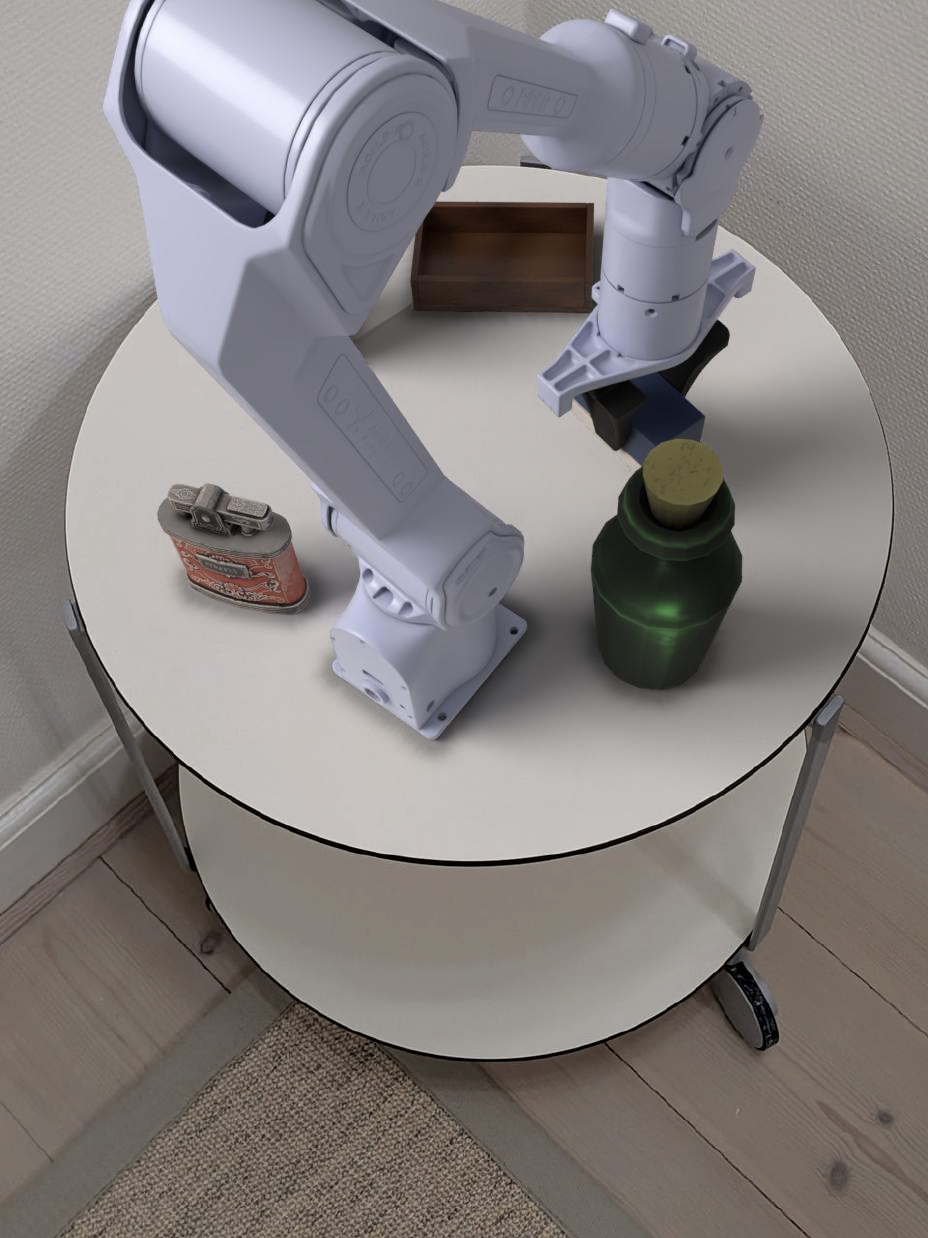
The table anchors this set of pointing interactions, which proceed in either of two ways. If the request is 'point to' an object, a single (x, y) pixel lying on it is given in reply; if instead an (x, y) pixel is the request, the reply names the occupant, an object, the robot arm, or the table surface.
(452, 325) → the table surface
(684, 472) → the potion bottle
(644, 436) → the chalkboard eraser
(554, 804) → the table surface
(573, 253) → the tray
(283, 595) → the lighter
